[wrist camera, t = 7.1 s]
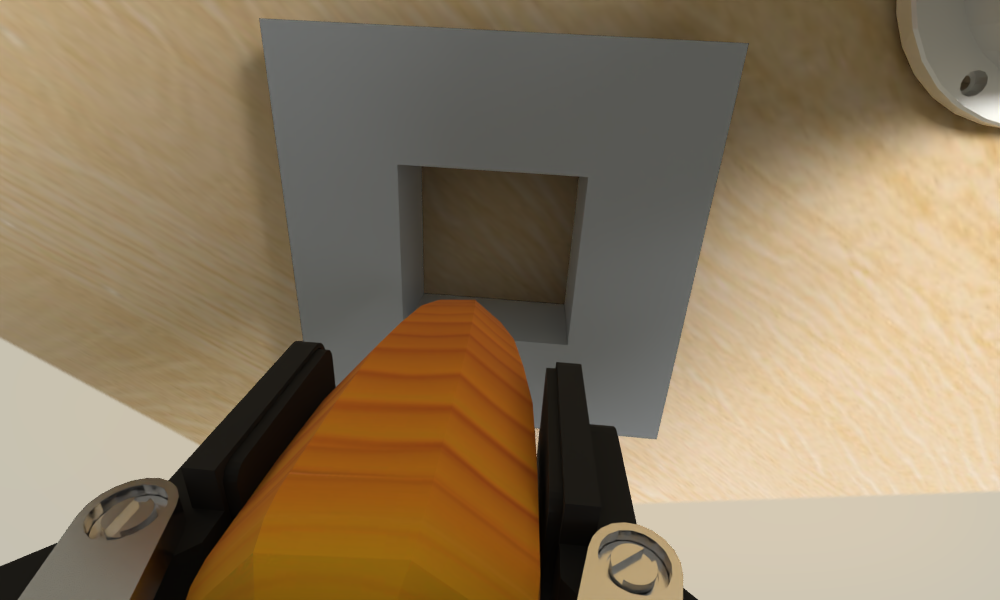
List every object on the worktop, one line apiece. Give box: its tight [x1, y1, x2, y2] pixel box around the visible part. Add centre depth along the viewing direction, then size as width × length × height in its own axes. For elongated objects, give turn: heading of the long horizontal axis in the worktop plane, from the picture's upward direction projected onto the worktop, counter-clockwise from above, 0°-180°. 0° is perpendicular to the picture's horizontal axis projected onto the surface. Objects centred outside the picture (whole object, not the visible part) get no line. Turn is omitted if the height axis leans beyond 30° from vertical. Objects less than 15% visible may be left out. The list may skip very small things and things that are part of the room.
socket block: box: [259, 18, 749, 439], centre depth 21 cm, size 16×16×4 cm
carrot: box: [186, 300, 540, 600], centre depth 9 cm, size 5×5×15 cm
